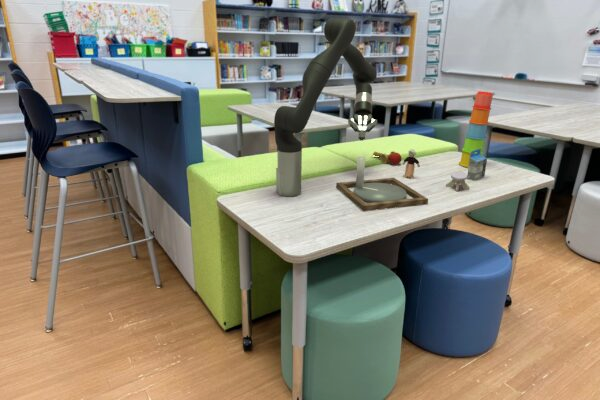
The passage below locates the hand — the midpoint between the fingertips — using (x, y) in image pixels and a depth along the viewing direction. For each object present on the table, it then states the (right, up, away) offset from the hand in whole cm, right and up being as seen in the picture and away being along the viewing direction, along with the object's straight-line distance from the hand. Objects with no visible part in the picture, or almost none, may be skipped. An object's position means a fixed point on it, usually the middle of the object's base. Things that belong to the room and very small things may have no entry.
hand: (361, 139), depth 179 cm
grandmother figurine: (+22, -16, +8) cm, 28 cm away
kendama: (+16, -7, +31) cm, 36 cm away
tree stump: (+39, -21, -4) cm, 44 cm away
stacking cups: (+56, -9, +26) cm, 62 cm away
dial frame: (+5, -24, -14) cm, 28 cm away
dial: (+5, -24, -14) cm, 28 cm away
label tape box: (+51, -16, +8) cm, 54 cm away
